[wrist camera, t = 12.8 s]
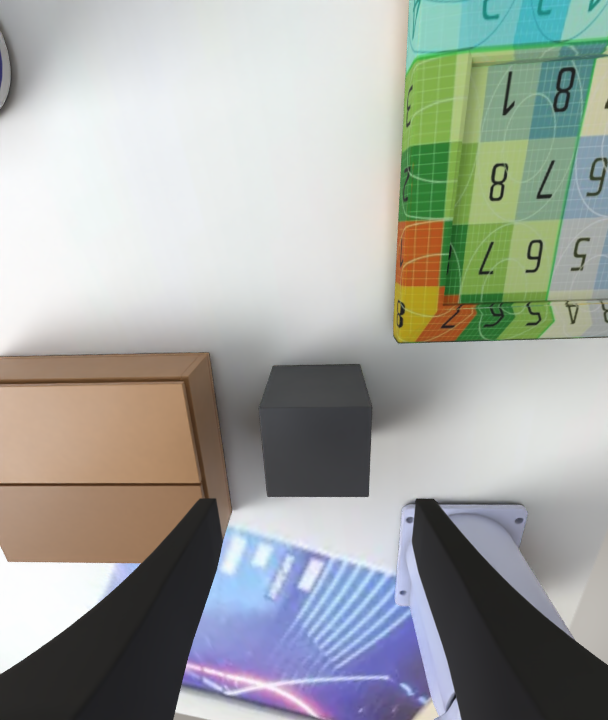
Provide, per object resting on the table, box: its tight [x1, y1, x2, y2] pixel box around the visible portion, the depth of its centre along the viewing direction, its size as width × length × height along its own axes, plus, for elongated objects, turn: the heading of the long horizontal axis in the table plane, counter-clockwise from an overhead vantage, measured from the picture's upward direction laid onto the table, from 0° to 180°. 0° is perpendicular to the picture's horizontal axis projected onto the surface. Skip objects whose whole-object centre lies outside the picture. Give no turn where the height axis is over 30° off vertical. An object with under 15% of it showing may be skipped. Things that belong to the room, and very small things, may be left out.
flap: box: [0, 482, 205, 563], centre depth 20 cm, size 6×13×1 cm, turn 92°
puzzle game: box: [393, 0, 608, 343], centre depth 13 cm, size 12×5×20 cm
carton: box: [0, 353, 232, 539], centre depth 20 cm, size 12×13×4 cm
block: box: [259, 364, 372, 497], centre depth 18 cm, size 5×5×5 cm
